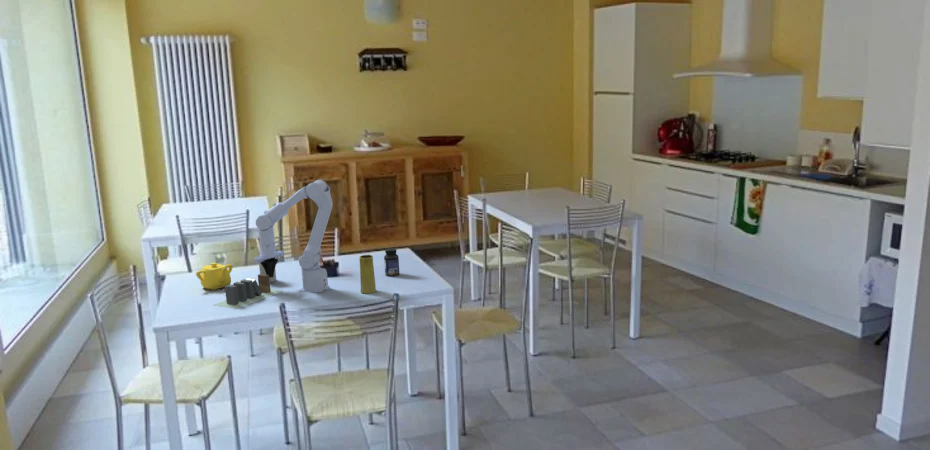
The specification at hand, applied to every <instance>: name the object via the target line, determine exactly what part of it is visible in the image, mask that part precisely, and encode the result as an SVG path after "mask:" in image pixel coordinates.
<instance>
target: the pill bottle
mask: <svg viewBox="0 0 930 450" xmlns="http://www.w3.org/2000/svg"><path fill="white" fill-rule="evenodd" d="M384 252H385V255H384V257H383V260H384V273H385V276H386V277H395V276H399V275H400V260H399V255H398V254H397V249H396V248H387V249H385V251H384Z"/></svg>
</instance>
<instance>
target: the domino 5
mask: <svg viewBox="0 0 930 450" xmlns="http://www.w3.org/2000/svg"><path fill="white" fill-rule="evenodd" d="M257 284H258V286H259V288H260V290H261V291H262V292H264V293H269V292H271V290H270V289H271V283H270V279H269V275H266V274H260V273H258V274H257Z"/></svg>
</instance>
